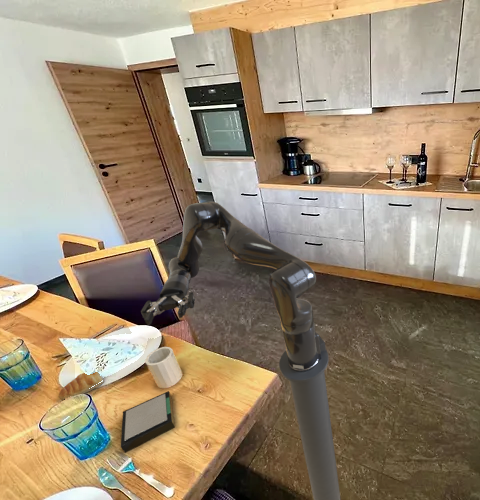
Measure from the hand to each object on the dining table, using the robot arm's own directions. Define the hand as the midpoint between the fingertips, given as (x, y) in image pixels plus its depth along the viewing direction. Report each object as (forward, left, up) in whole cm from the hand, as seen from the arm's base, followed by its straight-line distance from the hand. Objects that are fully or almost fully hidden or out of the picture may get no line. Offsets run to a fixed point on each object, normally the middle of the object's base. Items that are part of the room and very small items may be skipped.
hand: (164, 318), depth 86 cm
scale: (+8, +23, -13) cm, 27 cm away
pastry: (+23, 0, -13) cm, 26 cm away
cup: (+3, +11, -13) cm, 17 cm away
